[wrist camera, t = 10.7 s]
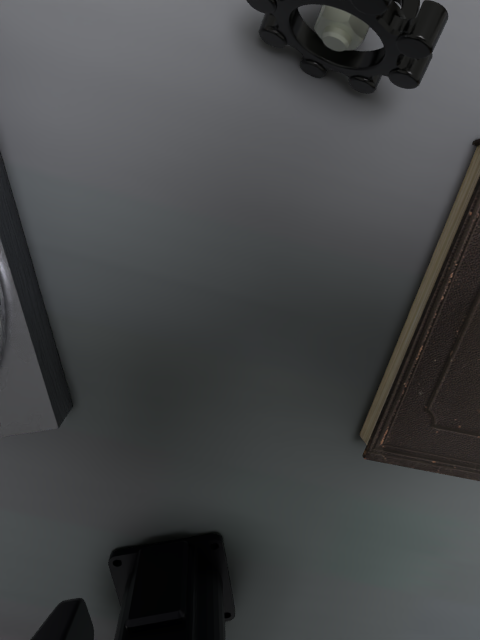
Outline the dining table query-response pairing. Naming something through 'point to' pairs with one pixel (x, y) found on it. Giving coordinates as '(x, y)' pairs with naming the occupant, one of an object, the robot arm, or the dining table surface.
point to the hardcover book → (437, 358)
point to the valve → (358, 37)
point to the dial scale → (25, 336)
